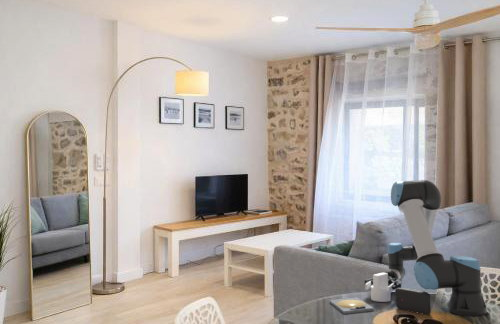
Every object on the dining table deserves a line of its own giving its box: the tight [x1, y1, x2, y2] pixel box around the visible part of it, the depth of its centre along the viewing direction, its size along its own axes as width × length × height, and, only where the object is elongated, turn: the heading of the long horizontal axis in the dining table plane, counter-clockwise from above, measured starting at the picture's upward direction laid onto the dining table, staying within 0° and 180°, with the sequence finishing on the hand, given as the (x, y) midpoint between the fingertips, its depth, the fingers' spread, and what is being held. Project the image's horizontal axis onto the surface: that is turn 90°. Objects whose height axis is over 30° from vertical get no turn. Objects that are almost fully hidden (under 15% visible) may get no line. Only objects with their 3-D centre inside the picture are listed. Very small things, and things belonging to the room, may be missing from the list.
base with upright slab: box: [370, 272, 392, 303], centre depth 230 cm, size 9×9×12 cm
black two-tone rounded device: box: [394, 287, 432, 315], centre depth 212 cm, size 16×5×9 cm, turn 43°
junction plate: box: [329, 296, 375, 315], centre depth 222 cm, size 18×14×2 cm
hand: (377, 288), depth 226 cm, fingers open, 10 cm apart
